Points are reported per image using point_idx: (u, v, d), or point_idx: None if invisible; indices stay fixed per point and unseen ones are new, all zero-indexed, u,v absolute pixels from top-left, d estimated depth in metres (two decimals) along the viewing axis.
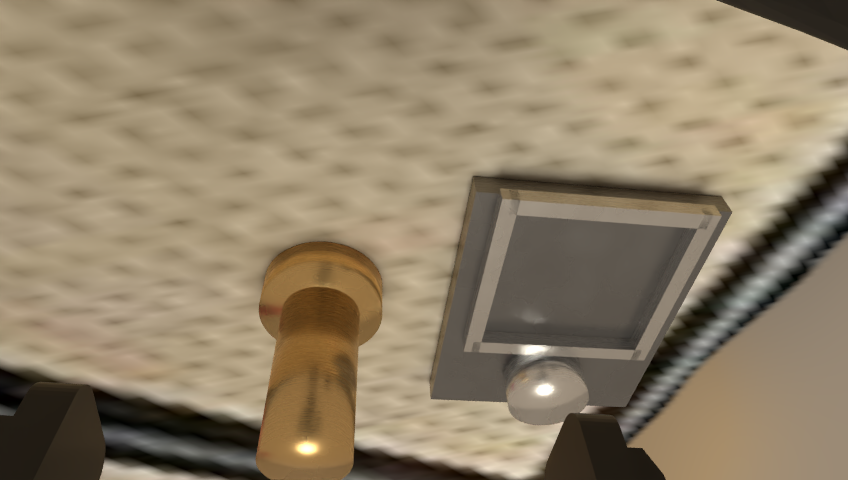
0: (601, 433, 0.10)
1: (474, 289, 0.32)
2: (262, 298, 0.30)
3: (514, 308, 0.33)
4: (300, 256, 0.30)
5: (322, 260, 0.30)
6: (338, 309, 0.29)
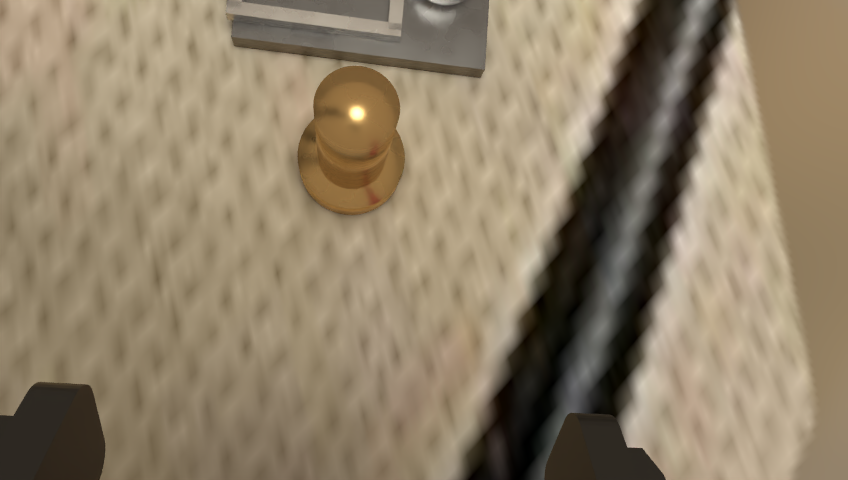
0: (601, 433, 0.10)
1: (335, 34, 0.37)
2: (331, 202, 0.35)
3: (359, 0, 0.38)
4: None
5: None
6: None
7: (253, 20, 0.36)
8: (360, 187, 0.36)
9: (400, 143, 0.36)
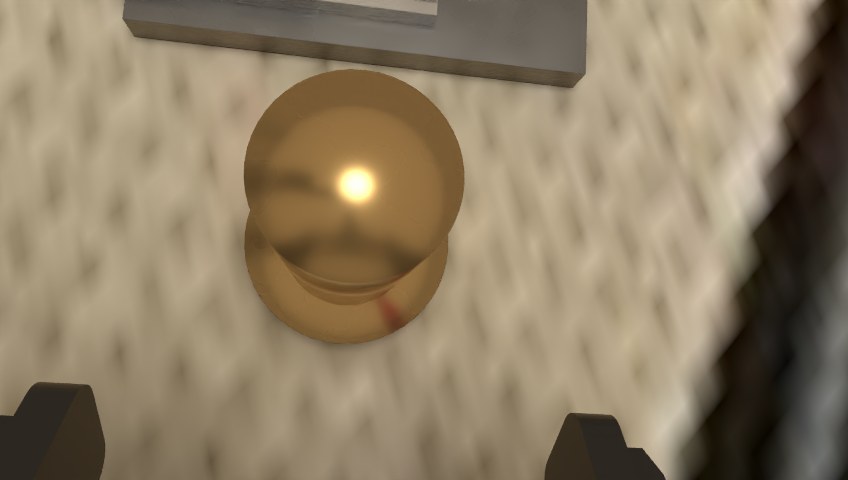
0: (601, 433, 0.10)
1: (316, 12, 0.20)
2: (309, 334, 0.18)
3: None
4: None
5: None
6: None
7: None
8: (365, 302, 0.19)
9: None
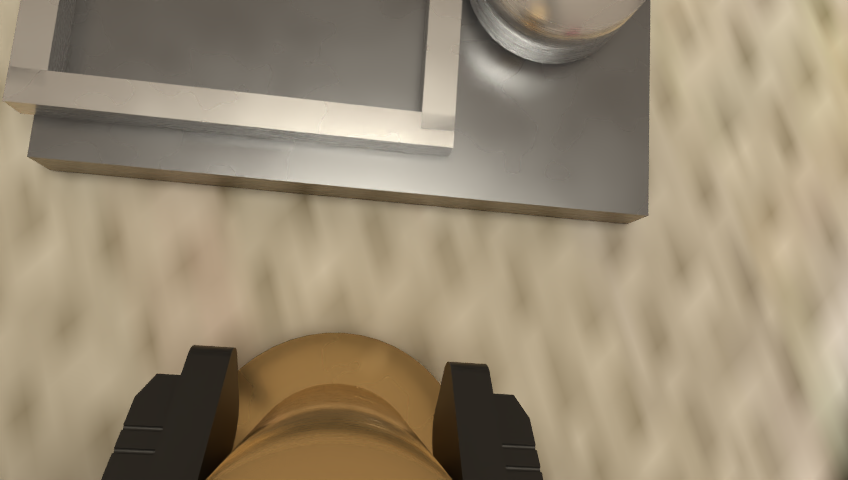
0: (470, 378, 0.11)
1: (291, 141, 0.15)
2: None
3: (349, 58, 0.16)
4: None
5: None
6: None
7: (82, 115, 0.14)
8: None
9: None
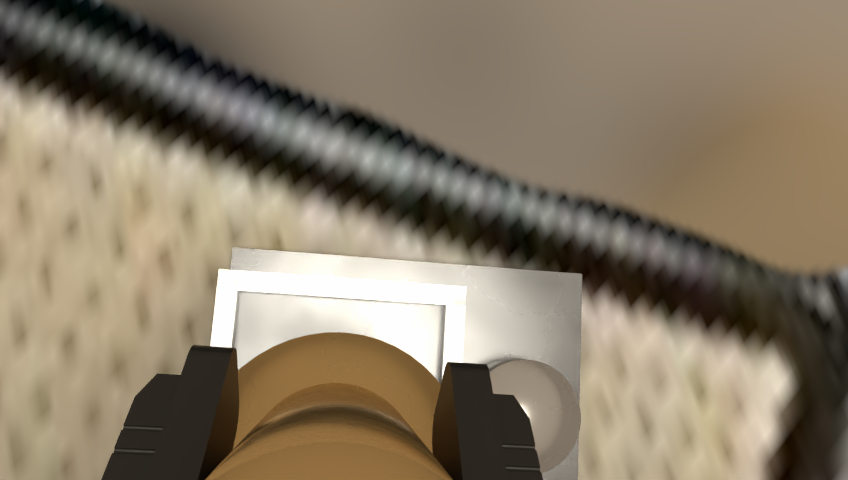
0: (470, 378, 0.11)
1: None
2: None
3: None
4: None
5: None
6: None
7: None
8: None
9: None
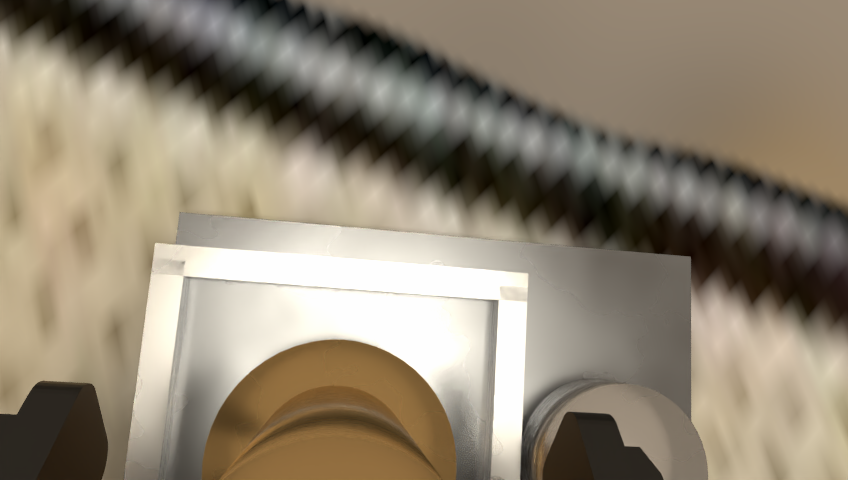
0: (599, 432, 0.10)
1: None
2: None
3: None
4: None
5: None
6: None
7: None
8: None
9: (446, 426, 0.16)
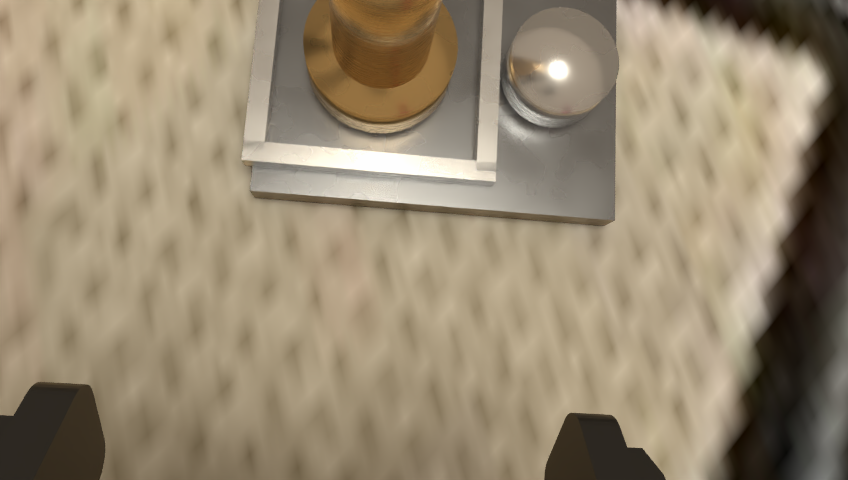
0: (601, 433, 0.10)
1: (399, 179, 0.26)
2: (353, 108, 0.24)
3: (431, 127, 0.26)
4: (308, 73, 0.25)
5: None
6: None
7: (281, 166, 0.25)
8: (395, 86, 0.24)
9: (451, 24, 0.25)
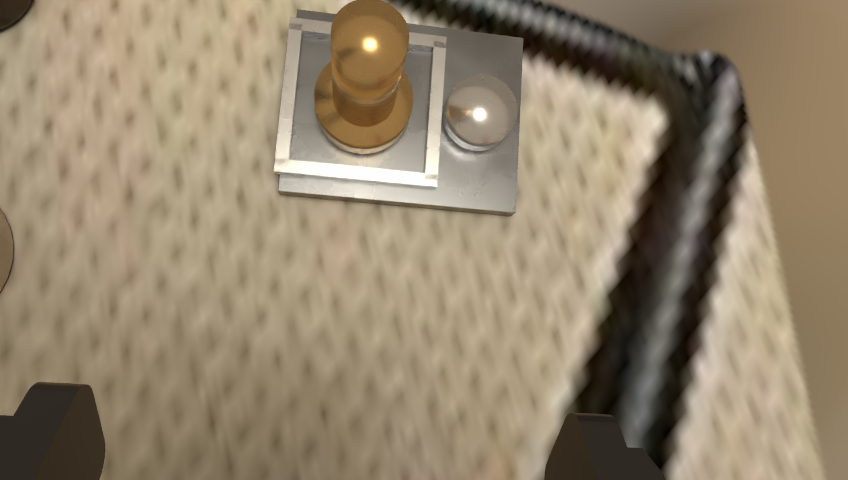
0: (601, 433, 0.10)
1: (375, 184, 0.40)
2: (345, 139, 0.38)
3: (396, 150, 0.40)
4: (317, 115, 0.39)
5: None
6: None
7: (299, 175, 0.39)
8: (372, 125, 0.38)
9: (409, 85, 0.39)
